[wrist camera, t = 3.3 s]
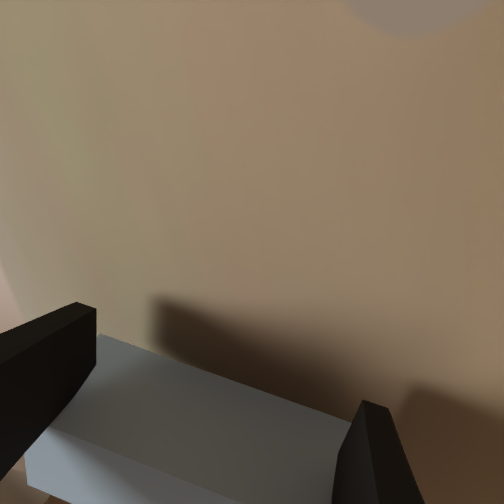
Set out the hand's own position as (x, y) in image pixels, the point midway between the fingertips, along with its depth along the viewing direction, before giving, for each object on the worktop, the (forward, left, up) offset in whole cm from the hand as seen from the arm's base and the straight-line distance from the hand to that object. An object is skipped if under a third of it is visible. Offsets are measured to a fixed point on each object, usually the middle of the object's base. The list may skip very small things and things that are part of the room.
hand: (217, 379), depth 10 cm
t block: (0, -5, -2) cm, 5 cm away
